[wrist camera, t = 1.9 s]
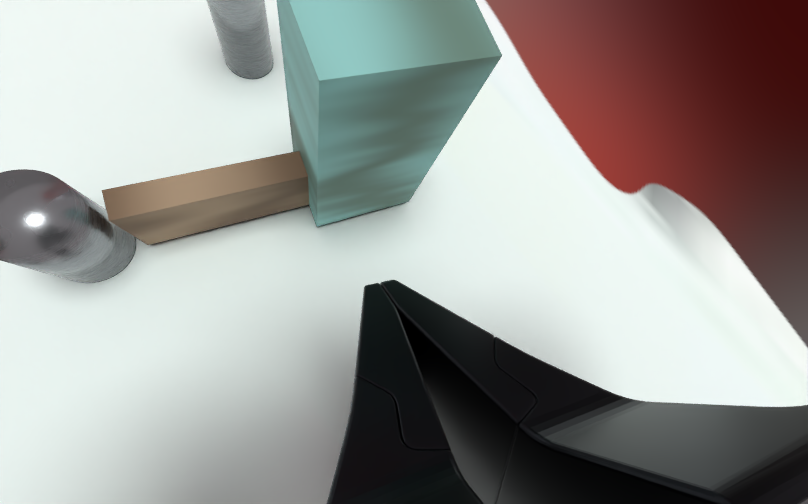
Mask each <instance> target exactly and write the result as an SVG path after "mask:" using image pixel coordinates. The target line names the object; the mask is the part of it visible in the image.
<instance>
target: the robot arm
mask: <svg viewBox="0 0 808 504" xmlns="http://www.w3.org/2000/svg"><path fill="white" fill-rule="evenodd" d="M327 504H808V405H804V406H794V407H756V406H732V405H709V404H685V403H662V402H645V401H639V400H633V399H629V398H625V397H622V396H619V395H616V394H614V393H611V392H609V391H606V390H604V389H602V388H600V387H598V386H595V385H593V384H591V383H589V382H587V381H584V380H582V379H580V378H578V377H576V376H574V375H571V374H569V373H567V372H565V371H563V370H560V369H558V368H556V367H554V366H552V365H550V364H548V363H545V362H543V361H541V360H539V359H537V358H535V357H533V356H531V355H529V354H527V353H525V352H523V351H521V350H519V349H518V348H516V347H514V346H512V345H510V344H508V343H507V342H505V341H503V340H501V339H499V338H498V337H494V336H493V335H492V334H490V333H489V332H487V331H485V330H483V329H481V328H480V327H478V326H476V325H474V324H473V323H471V322H469V321H467V320H466V319H464V318H462V317H460V316H458V315H457V314H455V313H453V312H451V311H450V310H448V309H446V308H444V307H442V306H441V305H439V304H437V303H435V302H434V301H432V300H430V299H428V298H427V297H425V296H423V295H421V294H419V293H418V292H416V291H414V290H412V289H411V288H409V287H407V286H405V285H403V284H402V283H400V282H398V281H396V280H390V281H385V282H381V283H380V284H379V283H375V284H371V285H366V286H365V287H364V294H363V303H362V313H361V323H360V332H359V342H358V351H357V361H356V370H355V379H354V388H353V396H352V403H351V409H350V415H349V419H348V424H347V428H346V433H345V437H344V441H343V445H342V448H341V452H340V456H339V460H338V463H337V467H336V471H335V475H334V479H333V482H332V486H331V490H330V494H329V497H328V501H327Z"/></svg>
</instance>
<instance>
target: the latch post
mask: <svg viewBox="0 0 808 504" xmlns="http://www.w3.org/2000/svg"><path fill="white" fill-rule="evenodd" d="M207 3H208V6H209V9H210V12H211V16H212V19H213V22H214V25H215V28H216V32H217V35H218V38H219V41H220V44H221V48H222V51H223V54H224V57H225V61H226V63H227V66H228V67H229V69H230V70H231V71H232V72H234V73H235V74H237V75H239V76H241V77H244V78H250V79H255V78H260V77H263V76H265V75H267V74H268V73H269V72H270V71H271V69H272V67H273V56H272V49H271V42H270V36H269V29H268V22H267V15H266V8H265V1H264V0H207Z"/></svg>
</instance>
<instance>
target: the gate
mask: <svg viewBox="0 0 808 504" xmlns="http://www.w3.org/2000/svg"><path fill="white" fill-rule="evenodd" d="M277 7H278V16H279V25H280V34H281V43H282V53H283V62H284V71H285V80H286V89H287V98H288V107H289V116H290V125H291V135H292V144H293V152H291V153H286V154H281V155H276V156H271V157H266V158H261V159H256V160H251V161H246V162H241V163H236V164H231V165H226V166H221V167H216V168H211V169H206V170H201V171H196V172H191V173H186V174H181V175H176V176H171V177H166V178H161V179H156V180H151V181H146V182H141V183H136V184H131V185H126V186H121V187H116V188H111V189H106V190H102V193H103V197H104V202H105V206H106V210H107V214H108V219H109V221H110V222H111V223H113V224H115V225H116V226H118V227H120V228H121V229H123V230H124V231H126V232H128V233H129V234H131V235H133V236H134V237H136V238H137V239H139V240H141V241H142V242H144V243H146V244H147V245H151V244H155V243H159V242H163V241H167V240H171V239H175V238H179V237H183V236H186V235H190V234H194V233H198V232H202V231H206V230H210V229H214V228H218V227H222V226H226V225H230V224H234V223H238V222H242V221H246V220H250V219H254V218H258V217H262V216H266V215H270V214H274V213H278V212H282V211H286V210H290V209H294V208H298V207H302V206H306V205H310V208H311V211H312V214H313V217H314V220H315V223H316V226H321V225H325V224H328V223H332V222H336V221H339V220H343V219H347V218H350V217H354V216H358V215H361V214H365V213H368V212H372V211H376V210H379V209H383V208H387V207H390V206H394V205H398V204H401V203H405V202H409V200H410V199H411V197H412V196H413V194H414V192H415V191H416V189H417V188H418V186H419V185H420V183H421V182H422V180H423V178H424V177H425V175H426V174H427V172H428V171H429V169H430V167H431V166H432V164H433V163H434V161H435V160H436V158H437V156H438V155H439V153H440V152H441V150H442V149H443V147H444V146H445V144H446V142H447V141H448V139H449V138H450V136H451V135H452V133H453V131H454V130H455V128H456V127H457V125H458V124H459V122H460V121H461V119H462V117H463V116H464V114H465V113H466V111H467V110H468V108H469V106H470V105H471V103H472V102H473V100H474V99H475V97H476V96H477V94H478V92H479V91H480V89H481V88H482V86H483V85H484V83H485V81H486V80H487V78H488V77H489V75H490V74H491V72H492V70H493V69H494V67H495V66H496V64H497V63H498V61H499V60H500V58H501V56H502V54H501V52H500V50H499V48H498V46H497V44H496V42H495V40H494V38H493V36H492V34H491V32H490V30H489V28H488V26H487V24H486V22H485V20H484V18H483V15H482V13H481V11H480V9H479V7H478V5H477V3H476V1H475V0H277Z"/></svg>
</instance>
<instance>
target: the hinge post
mask: <svg viewBox="0 0 808 504" xmlns="http://www.w3.org/2000/svg"><path fill="white" fill-rule="evenodd" d="M135 248H136V241H135V237H134V236H133V235H131V234H129V233H128V232H126V231H124V230H123V229H121V228H120V227H118V226H116V225H115V224H113V223H111V222H110V221H109V219H108V214H107V210H105V209H104V208H102V207H101V206H99V205H98V204H96V203H95V202H93V201H92V200H90V199H89V198H87V197H86V196H84V195H83V194H81V193H80V192H78V191H77V190H75V189H73V188H72V187H70V186H69V185H67V184H66V183H64V182H63V181H61V180H60V179H58V178H56V177H55V176H53V175H50V174H48V173H45V172H41V171H36V170H11V171H6V172H2V173H0V260H1V261H5V262H8V263H12V264H15V265H19V266H22V267H26V268H30V269H33V270H37V271H40V272H44V273H48V274H51V275H55V276H58V277H62V278H65V279H69V280H73V281H76V282H83V283H91V282H98V281H102V280H106V279H108V278H111V277H113V276H114V275H116V274H118V273H119V272H121V271H122V270H123V269H124V268H125V267H126V266H127V265H128V264H129V262H130V261H131V259H132V257H133V255H134V252H135Z"/></svg>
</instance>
